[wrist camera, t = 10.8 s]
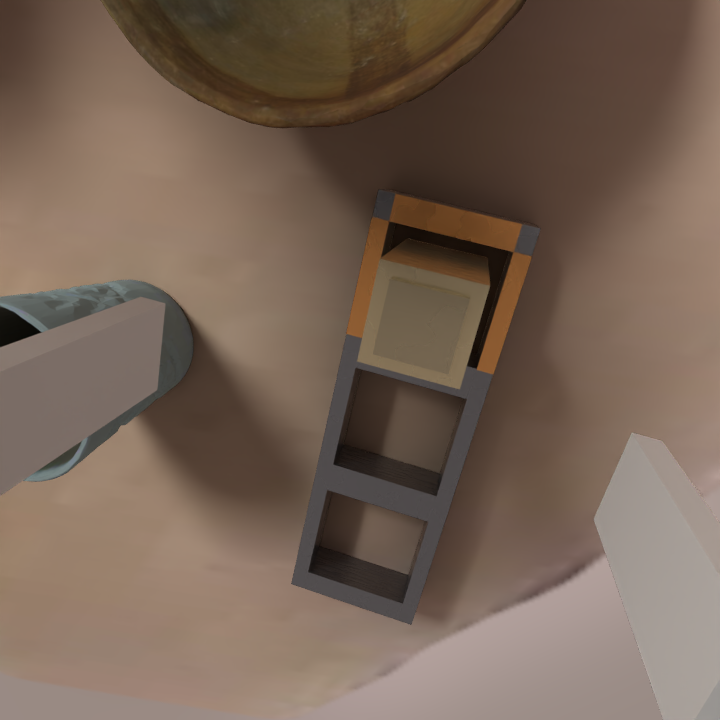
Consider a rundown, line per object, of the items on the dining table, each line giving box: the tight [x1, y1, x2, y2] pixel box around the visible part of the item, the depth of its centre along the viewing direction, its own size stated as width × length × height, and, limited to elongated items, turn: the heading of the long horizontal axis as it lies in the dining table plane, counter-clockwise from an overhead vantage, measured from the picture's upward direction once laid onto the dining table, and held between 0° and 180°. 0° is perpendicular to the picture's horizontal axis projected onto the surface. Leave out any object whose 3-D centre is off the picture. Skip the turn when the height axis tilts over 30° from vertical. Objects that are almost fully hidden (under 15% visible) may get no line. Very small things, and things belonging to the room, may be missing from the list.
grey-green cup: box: [0, 280, 193, 482], centre depth 34 cm, size 10×10×12 cm
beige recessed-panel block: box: [357, 238, 490, 389], centre depth 30 cm, size 5×5×10 cm
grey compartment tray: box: [291, 189, 541, 624], centre depth 36 cm, size 28×9×3 cm, turn 167°
